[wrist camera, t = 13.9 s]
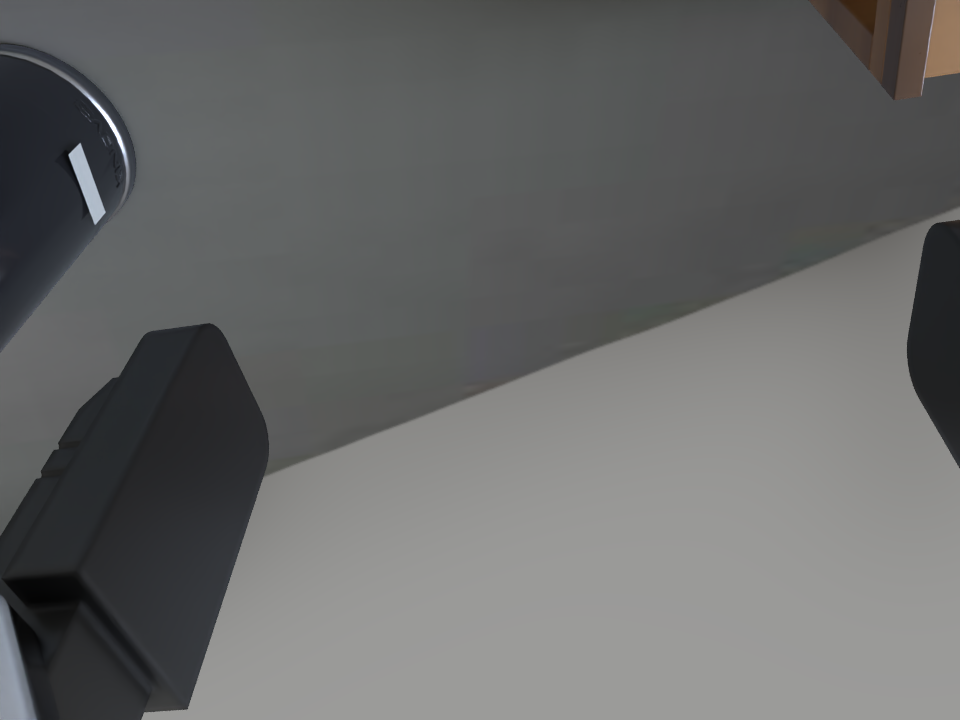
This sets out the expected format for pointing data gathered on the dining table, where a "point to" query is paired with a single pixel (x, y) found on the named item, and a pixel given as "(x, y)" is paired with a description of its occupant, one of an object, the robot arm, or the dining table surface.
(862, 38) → the shelf
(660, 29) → the dining table surface
